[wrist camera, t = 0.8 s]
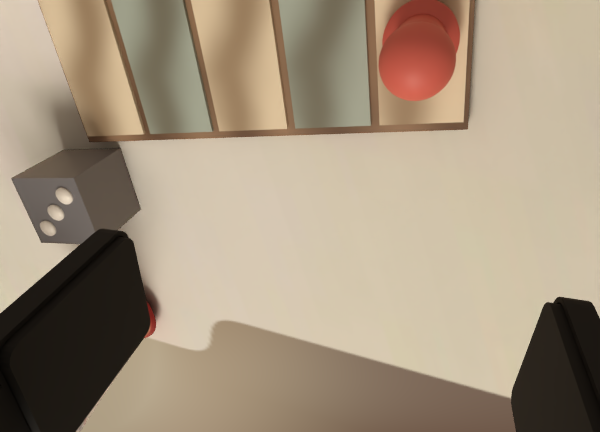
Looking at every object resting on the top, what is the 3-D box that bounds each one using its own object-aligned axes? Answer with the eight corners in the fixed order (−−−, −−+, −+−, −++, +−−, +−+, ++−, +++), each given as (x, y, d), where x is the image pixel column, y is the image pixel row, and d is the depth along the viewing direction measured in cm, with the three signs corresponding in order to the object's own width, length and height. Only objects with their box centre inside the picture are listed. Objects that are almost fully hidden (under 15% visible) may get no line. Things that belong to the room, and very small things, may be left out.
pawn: (460, -7, 26) (470, 12, 19) (457, 72, 28) (464, 116, 21) (383, 2, 27) (362, 22, 20) (385, 77, 29) (368, 120, 22)
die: (120, 148, 39) (72, 178, 34) (140, 209, 42) (99, 246, 37) (63, 149, 41) (9, 179, 36) (86, 208, 44) (40, 243, 38)
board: (478, -87, 25) (480, -88, 24) (466, 124, 31) (468, 130, 30) (41, -18, 33) (28, -17, 32) (96, 138, 39) (87, 143, 38)
